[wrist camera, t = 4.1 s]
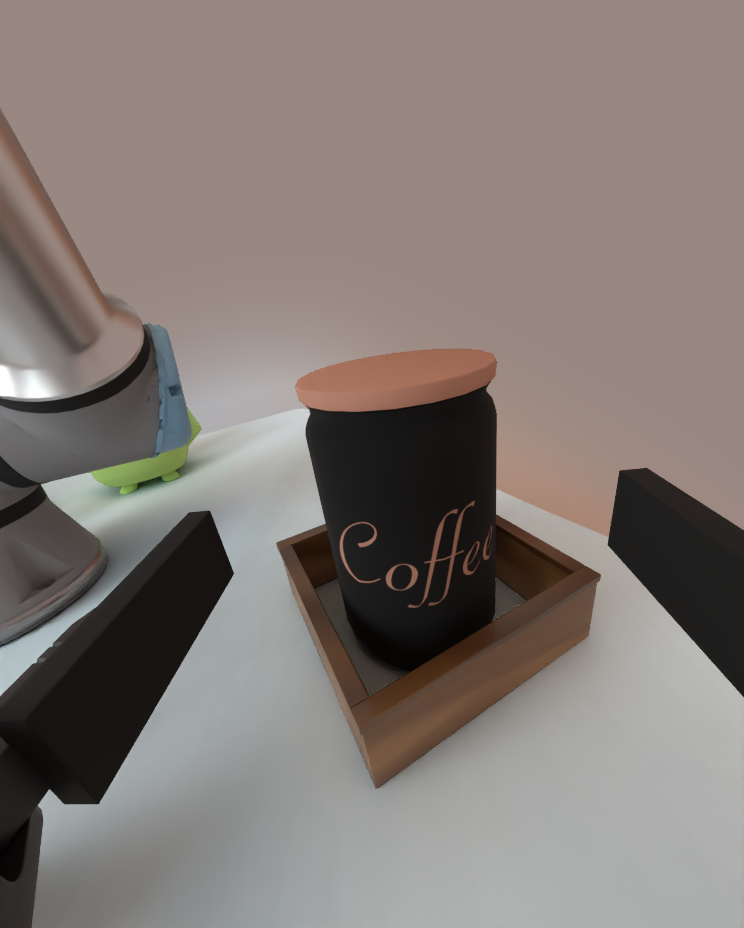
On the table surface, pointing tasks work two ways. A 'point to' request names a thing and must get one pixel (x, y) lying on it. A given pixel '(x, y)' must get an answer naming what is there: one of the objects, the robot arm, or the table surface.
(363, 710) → the wooden tray
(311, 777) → the table surface
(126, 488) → the teapot
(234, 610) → the table surface
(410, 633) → the coffee jar
